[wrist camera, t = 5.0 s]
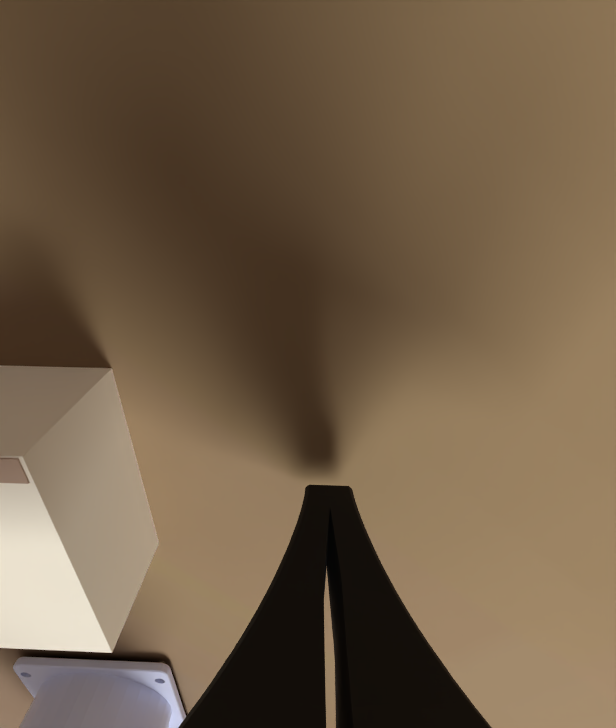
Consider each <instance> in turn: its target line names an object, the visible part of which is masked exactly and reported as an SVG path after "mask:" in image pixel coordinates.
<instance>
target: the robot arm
mask: <svg viewBox="0 0 616 728" xmlns="http://www.w3.org/2000/svg"><path fill="white" fill-rule="evenodd" d="M326 566H327V575H328V586H329V597H330V608H331V619H332V629H333V640H334V655H335V691H336V728H491V726H490V725H489V724H488V723H487V721H486V720H485V719H484V718H483V717H482V715H481V714H480V713H479V712H478V710H477V709H476V708H475V706H474V705H473V704H472V703H471V701H470V700H469V699H468V697H467V696H466V695H465V693H464V692H463V691H462V689H461V688H460V687H459V685H458V684H457V683H456V682H455V680H454V679H453V677H452V676H451V675H450V673H449V672H448V670H447V669H446V667H445V666H444V665H443V663H442V662H441V660H440V659H439V658H438V656H437V655H436V653H435V652H434V650H433V649H432V648H431V646H430V645H429V643H428V642H427V640H426V639H425V637H424V636H423V634H422V633H421V631H420V630H419V628H418V627H417V625H416V623H415V622H414V620H413V619H412V617H411V616H410V614H409V612H408V611H407V609H406V607H405V606H404V604H403V602H402V601H401V599H400V597H399V595H398V594H397V592H396V590H395V588H394V587H393V585H392V583H391V581H390V579H389V577H388V575H387V573H386V572H385V570H384V568H383V566H382V564H381V562H380V560H379V558H378V556H377V554H376V551H375V549H374V547H373V545H372V543H371V540H370V538H369V536H368V534H367V531H366V529H365V527H364V524H363V522H362V519H361V516H360V514H359V511H358V508H357V505H356V502H355V499H354V495H353V491H352V489H351V488H350V487H349V486H330V485H308V486H307V487H306V488H305V496H304V500H303V505H302V508H301V512H300V515H299V518H298V521H297V524H296V527H295V530H294V532H293V535H292V537H291V540H290V543H289V545H288V548H287V550H286V552H285V555H284V557H283V559H282V561H281V563H280V566H279V568H278V570H277V572H276V574H275V577H274V579H273V581H272V583H271V585H270V587H269V589H268V590H267V592H266V594H265V596H264V598H263V600H262V602H261V604H260V605H259V607H258V609H257V611H256V613H255V614H254V616H253V618H252V619H251V621H250V623H249V625H248V626H247V628H246V630H245V631H244V633H243V635H242V636H241V638H240V640H239V641H238V643H237V644H236V646H235V648H234V649H233V651H232V652H231V654H230V655H229V657H228V658H227V660H226V661H225V663H224V664H223V666H222V667H221V669H220V670H219V672H218V673H217V675H216V676H215V678H214V679H213V681H212V682H211V684H210V685H209V686H208V688H207V689H206V691H205V692H204V693H203V695H202V696H201V698H200V699H199V700H198V702H197V703H196V704H195V706H194V707H193V708H192V710H191V711H190V712H189V714H188V715H187V716H186V715H185V712H184V709H183V706H182V703H181V700H180V696H179V693H178V690H177V687H176V684H175V681H174V678H173V675H172V672H171V669H170V667H169V666H168V665H167V664H164V663H158V662H135V661H112V660H90V659H67V658H44V657H20V658H18V659H17V661H16V662H15V664H14V666H13V669H14V671H15V672H16V674H17V675H18V676H19V678H20V679H21V681H22V682H23V683H24V685H25V686H26V688H27V689H28V690H29V692H30V693H31V694H32V696H33V697H34V700H33V702H32V704H31V706H30V708H29V709H28V711H27V713H26V715H25V717H24V719H23V721H22V722H21V724H20V726H19V728H326V705H325V654H324V591H325V578H326Z"/></svg>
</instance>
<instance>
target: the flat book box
mask: <svg viewBox="0 0 616 728" xmlns="http://www.w3.org/2000/svg"><path fill="white" fill-rule="evenodd" d="M158 544H159V541H158V537H157V533H156V530H155V526H154V522H153V518H152V515H151V511H150V507H149V504H148V500H147V496H146V493H145V489H144V485H143V481H142V478H141V474H140V470H139V467H138V463H137V459H136V456H135V452H134V448H133V444H132V441H131V437H130V433H129V430H128V426H127V422H126V419H125V415H124V411H123V407H122V404H121V400H120V396H119V393H118V389H117V385H116V382H115V378H114V374H113V370H112V368H81V367H41V366H2V365H0V648H14V649H37V650H60V651H82V652H105V653H112V652H113V650H114V647H115V645H116V643H117V640H118V638H119V636H120V633H121V631H122V629H123V626H124V624H125V622H126V619H127V617H128V615H129V612H130V610H131V608H132V605H133V603H134V601H135V598H136V596H137V594H138V591H139V589H140V587H141V584H142V582H143V580H144V577H145V575H146V573H147V570H148V568H149V566H150V563H151V561H152V558H153V556H154V554H155V551H156V549H157V547H158Z"/></svg>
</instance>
